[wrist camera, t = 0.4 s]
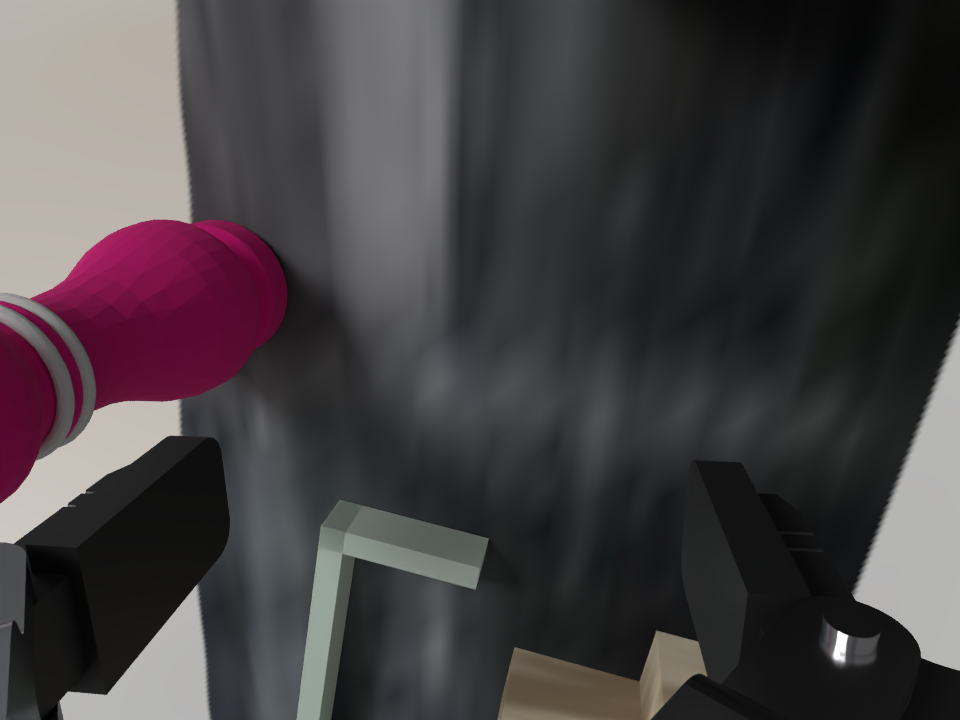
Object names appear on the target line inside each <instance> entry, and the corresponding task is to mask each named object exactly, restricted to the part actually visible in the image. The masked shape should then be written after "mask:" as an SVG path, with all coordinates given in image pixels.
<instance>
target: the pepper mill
mask: <svg viewBox="0 0 960 720" xmlns="http://www.w3.org/2000/svg"><path fill="white" fill-rule="evenodd" d="M286 306H287V284H286V280H285V276H284V273H283V270H282V268H281V265H280V263H279V261H278V260H277V258H276V256H275V255H274V253H273V251H272V250H271V249H270V248H269V247H268V246H267V244H266V243H265V242H264V241H263V240H261V239H260V238H259V237H258V236H257V235H256V234H254V233H253V232H251V231H249V230H248V229H246V228H244V227H242V226H241V225H238V224H235V223H232V222H228V221H221V220H206V221H201V222H197V223H192V224H188V223H184V222H181V221H174V220H151V221H145V222H140V223H138V224H134V225H131V226H128V227H125V228H122V229H120V230H118V231H116V232H114V233H112V234H110V235H108V236H107V237H105V238H104V239H103V240H101V241H100V242H99V243H97V244H96V245H95V246H93V247H92V248H91V249H90V250H89V251H87V252H86V253H85V254H84V256H83V257H82V258H81V259H80V261H79V262H78V263H77V265H76V266H75V267H74V269H73V270H72V271H71V273H70V274H69V275H68V277H67V278H66V279H65V280H64V281H63V282H61V283H60V284H59V285H57V286H56V287H54V288H53V289H51V290H49V291H46V292H44V293H42V294H39V295H37V296H35V297H32V298H30V299H28V298H25V297H22V296H18V295H14V294H8V293H0V503H2V502H3V501H4V500H5V499H7V498H8V497H9V496H10V495H12V494H13V493H14V492H15V491H16V490H17V489H18V488H19V486H20V485H21V484H22V483H23V481H24V480H25V478H26V477H27V476H28V475H29V473H30V471H31V469H32V467H33V465H34V462H35V461H36V460H38V459H41V458H43V457H45V456H47V455H49V454H50V453H52V452H53V451H54V450H56V449H57V448H58V447H61V446H63V445H66V444H67V443H69V442H71V441H73V440H74V439H75V438H76V437H77V436H78V435H79V434H80V433H81V432H82V431H83V430H84V429H85V427H86V426H87V424H88V422H89V421H90V419H91V416H92V414H93V411H94V410H97V409H99V408H102V407H104V406H107V405H109V404H112V403H118V402H123V401H162V402H163V401H172V400H177V399H182V398H187V397H192V396H196V395H200V394H202V393H204V392H206V391H208V390H210V389H212V388H214V387H217V386H218V385H220V384H222V383H224V382H226V381H228V380H229V379H230V378H232V377H233V376H234V375H236V374H237V372H238V371H239V370H240V369H241V368H242V367H243V366H244V364H245V363H246V361H247V360H248V359H249V357H250V356H251V354H252V352H253V350H254V349H256V348H258V347H259V346H261V345H262V344H264V343H265V342H267V341H268V340H269V339H270V338H271V337H272V336H273V335H274V334H275V332H276V331H277V329H278V328H279V327H280V325H281V323H282V320H283V318H284V316H285V311H286Z"/></svg>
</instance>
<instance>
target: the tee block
mask: <svg viewBox="0 0 960 720" xmlns="http://www.w3.org/2000/svg"><path fill="white" fill-rule="evenodd" d="M696 674H703V675H705V676H707V673H706V669H705V665H704V661H703V658H702V654H701V650H700V646H699V642H697V641H693V640H690V639H686V638H682V637H679V636H675V635H671V634H667V633H664V632H660V631H656V634H655V637H654V640H653V643H652V646H651V649H650V652H649V655H648V658H647V661H646V664H645V667H644V670H643V673H642V676H641V679H640V682H639V681H635V680H632V679H628V678H624V677H621V676H617V675H614V674H610V673H606V672H603V671H599V670H595V669H592V668H588V667H585V666H581V665H577V664H574V663H570V662H566V661H563V660H559V659H556V658H552V657H548V656H545V655H541V654H538V653H534V652H530V651H527V650H523V649H519V648H516V647H514V651H513V655H512V659H511V663H510V667H509V671H508V675H507V679H506V683H505V687H504V691H503V695H502V699H501V704H500V710H499V715H498V720H651V718H652V717H653V716H654V715H655V714H656V713H657V712H658V711H659V710H660V709H661V708H662V707H663V705H664V704H665V703H666V702H667V701H668V700H669V699H670V698H671V697H672V696H673V695H674V694H675V693H676V691H677V690H678V689H679V688H680V687H681V686H682V685H683V684H684V683H685V682H686V681H687V680H688V679H689V678H690V677H692V676H693V675H696Z"/></svg>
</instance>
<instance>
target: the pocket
mask: <svg viewBox="0 0 960 720" xmlns="http://www.w3.org/2000/svg"><path fill="white" fill-rule="evenodd" d="M488 540H489V538H485V537H481V536H477V535H474V534H470V533H466V532H462V531H458V530H454V529H451V528H447V527H443V526H439V525H435V524H432V523H428V522H424V521H420V520H416V519H412V518H409V517H405V516H401V515H397V514H393V513H389V512H386V511H382V510H378V509H374V508H370V507H366V506H363V505H359V504H355V503H351V502H347V501H343V500H339V502H338V503H337V504H336V506H335V507H334V509H333V510H332V511H331V513H330V514H329V515H328V517H327V518H326V520H325V521H324V522H323V524H322V525H321V530H320V538H319V546H318V554H317V562H316V570H315V578H314V586H313V594H312V602H311V609H310V617H309V625H308V633H307V641H306V649H305V657H304V665H303V673H302V681H301V689H300V697H299V705H298V713H297V720H332V719H331V718H332V711H333V704H334V697H335V690H336V684H337V677H338V670H339V663H340V656H341V650H342V643H343V636H344V629H345V623H346V616H347V609H348V602H349V595H350V589H351V582H352V575H353V568H354V561H355V557H356V558H360V559H364V560H367V561H371V562H375V563H378V564H382V565H386V566H390V567H393V568H397V569H401V570H405V571H408V572H412V573H416V574H419V575H423V576H427V577H431V578H434V579H438V580H442V581H445V582H449V583H453V584H457V585H460V586H464V587H468V588H471V589H475V590H476V586H477V583H478V579H479V576H480V572H481V569H482V565H483V562H484V558H485V554H486V549H487V545H488Z"/></svg>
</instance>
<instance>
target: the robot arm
mask: <svg viewBox="0 0 960 720" xmlns="http://www.w3.org/2000/svg"><path fill="white" fill-rule="evenodd" d="M229 529H230V517H229V509H228V501H227V493H226V485H225V477H224V469H223V461H222V453H221V449H220V446H219V444H218V442H217V441H216V440H215V439H214V438H211V437H188V436H168V437H166V438H165V439H163V440H162V441H161V442H159V443H158V444H157V445H156V446H154V447H153V448H151V449H150V450H149V451H148V452H146V453H145V454H144V455H142V456H141V457H140V458H138V459H137V460H136V461H134V462H133V463H132V464H130V465H128V466H126V467H123V468H121V469H119V470H116V471H114V472H112V473H110V474H107V475H106V476H104V477H103V478H102V479H101V480H99V481H98V482H96V483H95V484H94V485H92V486H91V487H90V488H88V489H87V490H86V493H85V494H80V495H79V496H77V497H76V498H75V499H74V500H72V501H71V502H69V504H68V507H63V508H61V509H60V510H59V511H57V512H56V513H55V514H53V515H52V516H50V517H49V518H48V519H46V520H45V521H44V522H42V523H41V524H40V525H38V526H37V527H36V528H34V529H33V530H32V531H30V532H29V533H28V534H26V535H25V536H24V537H22V538H21V539H19V540H18V541H17V542H16V543H14V544H10V543H0V720H63V715H62V710H61V706H60V702H59V701H60V700H61V698H62V697H63V696H64V695H65V694H66V693H67V692H68V691H70V692H81V693H92V694H104V695H107V693H108V692H109V691H110V690H111V689H112V687H113V686H114V685H115V684H116V682H117V681H118V680H119V679H120V678H121V676H122V675H123V674H124V673H125V671H126V670H127V669H128V668H129V667H130V665H131V664H132V663H133V662H134V660H135V659H136V658H137V657H138V656H139V654H140V653H141V652H142V651H143V650H144V648H145V647H146V646H147V645H148V643H149V642H150V641H151V640H152V639H153V637H154V636H155V635H156V634H157V632H158V631H159V630H160V629H161V628H162V626H163V625H164V624H165V623H166V621H167V620H168V619H169V618H170V617H171V615H172V614H173V613H174V612H175V611H176V609H177V608H178V607H179V606H180V604H181V603H182V602H183V601H184V600H185V598H186V597H187V596H188V595H189V593H190V592H191V591H192V590H193V588H194V587H195V586H196V585H197V584H198V582H199V581H200V580H201V579H202V578H203V576H204V575H205V574H206V573H207V571H208V570H209V569H210V568H211V567H212V565H213V564H214V563H215V562H216V561H217V559H218V558H219V557H220V555H221V554H222V552H223V551H224V548H225V546H226V543H227V540H228V536H229ZM681 564H682V578H683V584H684V589H685V593H686V596H687V600H688V604H689V608H690V612H691V616H692V619H693V623H694V627H695V631H696V635H697V638H698V642H699V646H700V650H701V654H702V658H703V661H704V665H705V669H706V673H707V676H705V675H703V674H696V675H693V676H692V677H690V678H689V679H688V680H687V681H686V682H685V683H684V684H683V685H682V686H681V687H680V688H679V689H678V690H677V691H676V693H675V694H674V695H673V696H672V697H671V698H670V699H669V700H668V701H667V702H666V703H665V704H664V705H663V707H662V708H661V709H660V710H659V711H658V712H657V713H656V714H655V715H654V716H653V717H652V718H651V720H960V671H958V670H955V669H951V668H948V667H944V666H941V665H938V664H935V663H932V662H930V661H927V660H925V659H922V658H921V652H920V648H919V645H918V643H917V642H916V640H915V639H914V637H913V636H912V634H911V633H910V632H909V631H908V630H907V629H906V628H905V627H903V625H901V624H900V623H899V622H898V621H896V620H895V619H893V618H892V617H890V616H889V615H887V614H885V613H883V612H881V611H880V610H877V609H875V608H873V607H871V606H868V605H866V604H863V603H860V602H857V601H856V600H855V599H854V597H853V595H852V594H851V592H850V591H849V589H848V587H847V586H846V584H845V583H844V581H843V579H842V578H841V576H840V575H839V573H838V571H837V570H836V568H835V567H834V565H833V563H832V562H831V560H830V559H829V557H828V555H827V554H826V553H824V552H823V547H822V546H821V544H820V542H819V541H818V539H817V538H816V536H813V531H812V530H811V528H810V526H809V525H808V523H807V522H806V520H805V518H804V517H803V515H802V514H801V512H800V511H798V510H797V509H796V508H794V507H793V506H792V505H790V504H789V503H787V502H786V501H785V500H783V499H782V498H780V497H779V496H778V495H776V494H758V493H757V491H756V489H755V487H754V485H753V484H752V482H751V480H750V478H749V476H748V474H747V472H746V470H745V469H744V467H743V465H742V464H741V463H740V462H719V461H696V460H693V461H692V463H691V465H690V469H689V476H688V486H687V496H686V507H685V518H684V528H683V539H682V553H681Z"/></svg>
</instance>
